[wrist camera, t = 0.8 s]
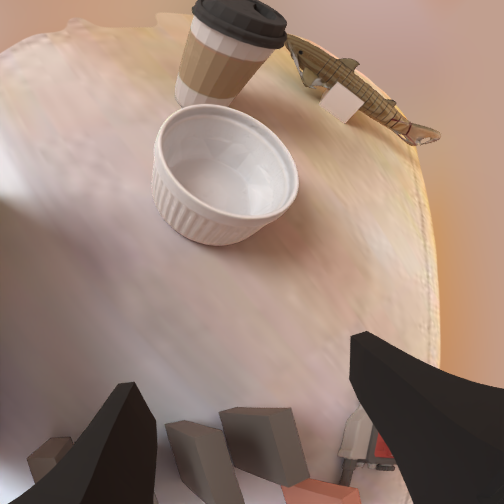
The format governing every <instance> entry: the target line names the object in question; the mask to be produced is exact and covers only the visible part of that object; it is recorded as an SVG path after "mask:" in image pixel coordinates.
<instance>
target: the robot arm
mask: <svg viewBox="0 0 504 504" xmlns="http://www.w3.org/2000/svg"><path fill="white" fill-rule="evenodd" d="M349 380H350V382H351V384H352V387H353V389H354V391H355V393H356V395H357V398H358V400H359V402H360V404H361V405H362V407H363V409H364V410H365V412H366V413H367V415H368V416H369V418H370V420H371V421H372V423H373V424H374V426H375V428H376V429H377V431H378V432H379V434H380V435H381V437H382V439H383V440H384V442H385V443H386V445H387V446H388V448H389V450H390V452H391V453H392V455H393V457H394V459H395V461H396V463H397V465H398V468H399V470H400V472H401V474H402V476H403V479H404V481H405V483H406V486H407V488H408V491H409V493H410V496H411V498H412V501H413V504H504V389H502V388H497V387H492V386H488V385H483V384H480V383H476V382H472V381H469V380H466V379H463V378H460V377H457V376H455V375H452V374H449V373H447V372H444V371H442V370H440V369H438V368H435V367H433V366H431V365H429V364H427V363H425V362H423V361H421V360H419V359H417V358H415V357H413V356H411V355H409V354H407V353H405V352H404V351H402V350H400V349H398V348H396V347H395V346H393V345H391V344H389V343H388V342H386V341H384V340H382V339H381V338H379V337H377V336H375V335H374V334H372V333H370V332H368V331H365V332H362V333H359V334H356V335H352V336H351V343H350V375H349ZM156 456H157V429H156V420H155V418H154V416H153V415H152V413H151V411H150V409H149V408H148V406H147V404H146V402H145V400H144V399H143V397H142V395H141V393H140V391H139V389H138V387H137V386H136V384H135V382H130V383H121V384H118V385H117V386H116V388H115V389H114V390H113V392H112V393H111V394H110V396H109V397H108V399H107V400H106V402H105V403H104V404H103V406H102V407H101V409H100V410H99V412H98V413H97V414H96V416H95V417H94V419H93V420H92V421H91V423H90V424H89V426H88V427H87V428H86V430H85V431H84V432H83V433H82V435H81V436H80V437H79V439H78V440H77V441H76V442H75V444H74V445H73V446H72V448H71V449H70V450H69V451H68V452H67V453H66V455H65V456H64V457H63V458H62V459H61V460H60V461H59V462H58V463H57V464H56V465H55V466H54V467H53V468H52V469H51V470H50V471H49V472H48V473H47V474H46V475H45V476H44V477H43V478H42V479H40V480H39V481H38V482H37V483H36V484H35V485H34V486H32V487H31V488H30V489H29V490H27V491H26V492H25V493H23V494H22V495H21V496H19V497H18V498H16V499H15V500H13V501H12V502H10V503H8V504H153V499H154V483H155V469H156Z"/></svg>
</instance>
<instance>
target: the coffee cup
mask: <svg viewBox="0 0 504 504" xmlns="http://www.w3.org/2000/svg"><path fill="white" fill-rule="evenodd" d="M192 13H193V14H194V17H193V21H192V24H191V27H190V31H189V34H188V38H187V42H186V45H185V49H184V53H183V57H182V60H181V64H180V68H179V73H178V77H177V81H176V85H175V98H176V100H177V102H178V103H179V104H180V105H181V106H182V107H183V108H184V107H187V106H191V105H198V104H213V105H220V106H225V107H228V106H229V105H230V103H231V102H232V101H233V100H234V98H235V97H236V96H237V95H238V93H239V92H240V91H241V90H242V88H243V87H244V86H245V85H246V83H247V82H248V81H249V80H250V79H251V77H252V76H253V75H254V74H255V73H256V71H257V70H258V69H259V68H260V67H261V65H262V64H263V63H264V62H265V61H266V60H267V58H268V57H269V56H270V55H271V54H272V53H273V51H274V50H275V49H280V48H282V47H283V46H284V42H285V41H286V40H287V33H286V32H285V28H286V26H287V22H286V20H285V19H284V17H283V16H282V15H281V14H279V13H278V12H277V11H276V10H274V9H273V8H271V7H269V6H268V5H266V4H264V3H262V2H260V1H258V0H198V1H197V2H196V4H195V6H194V7H192Z"/></svg>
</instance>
